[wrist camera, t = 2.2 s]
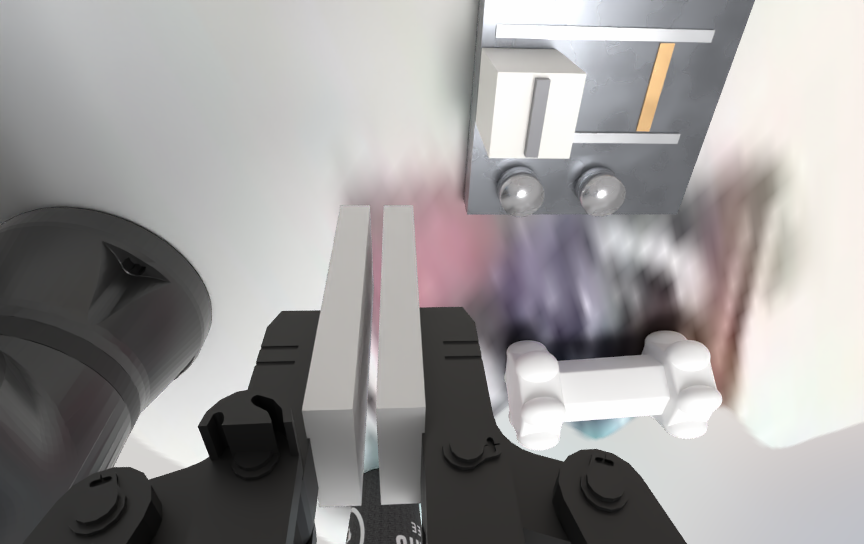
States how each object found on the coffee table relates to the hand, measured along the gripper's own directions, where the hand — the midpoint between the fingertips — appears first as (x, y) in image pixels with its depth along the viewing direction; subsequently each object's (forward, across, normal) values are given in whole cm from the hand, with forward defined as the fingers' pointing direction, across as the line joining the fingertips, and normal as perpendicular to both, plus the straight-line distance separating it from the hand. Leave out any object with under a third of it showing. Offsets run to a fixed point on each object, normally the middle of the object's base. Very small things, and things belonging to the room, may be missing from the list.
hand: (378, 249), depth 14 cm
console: (+18, +12, 0) cm, 22 cm away
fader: (+16, +7, 0) cm, 18 cm away
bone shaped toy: (+19, +17, -23) cm, 34 cm away
